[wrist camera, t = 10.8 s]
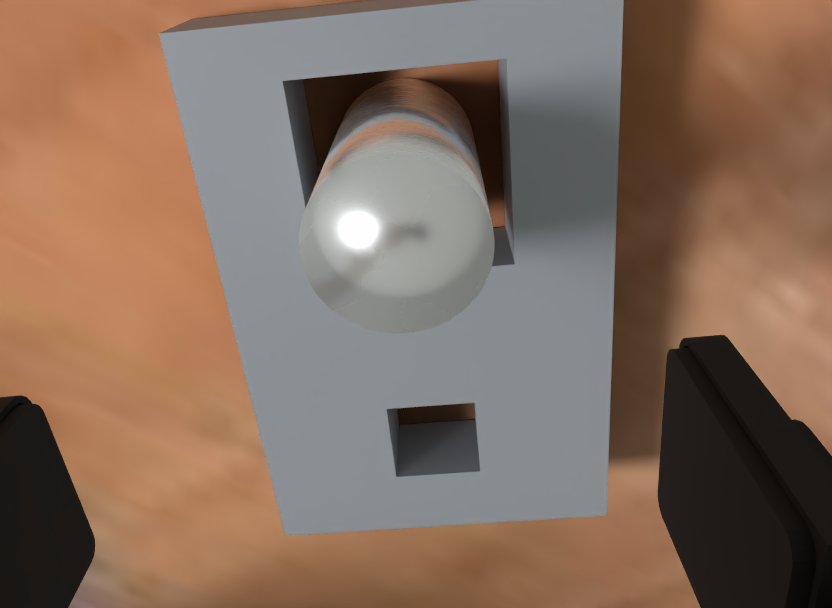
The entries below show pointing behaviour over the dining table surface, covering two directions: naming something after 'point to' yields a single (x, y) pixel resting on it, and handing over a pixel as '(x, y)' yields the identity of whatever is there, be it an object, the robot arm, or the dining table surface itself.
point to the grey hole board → (456, 338)
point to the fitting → (399, 212)
